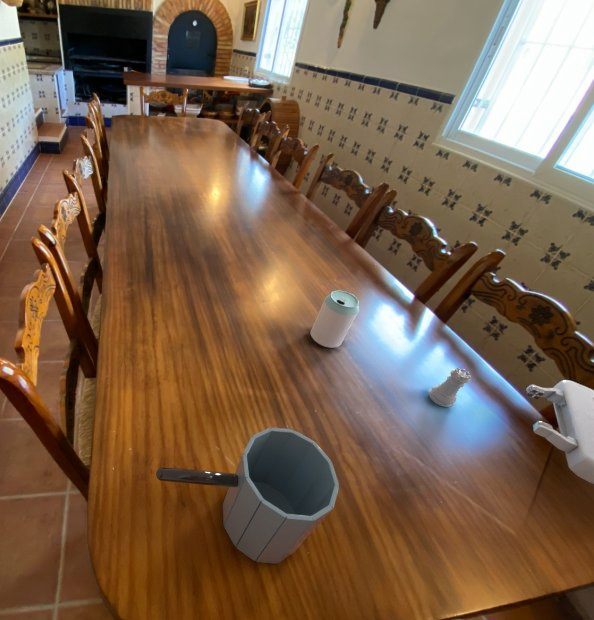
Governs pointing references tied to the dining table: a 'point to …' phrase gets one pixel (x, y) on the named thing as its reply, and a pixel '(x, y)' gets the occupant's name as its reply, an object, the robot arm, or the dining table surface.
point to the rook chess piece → (449, 388)
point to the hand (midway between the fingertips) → (531, 406)
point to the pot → (271, 493)
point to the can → (335, 318)
